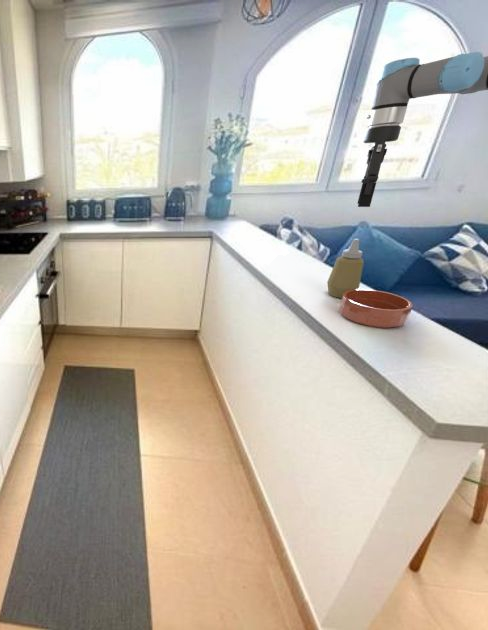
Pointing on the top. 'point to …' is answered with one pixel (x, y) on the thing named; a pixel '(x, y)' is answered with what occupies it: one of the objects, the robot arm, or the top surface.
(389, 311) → the bowl
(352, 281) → the squeeze bottle
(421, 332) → the top surface
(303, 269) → the top surface
